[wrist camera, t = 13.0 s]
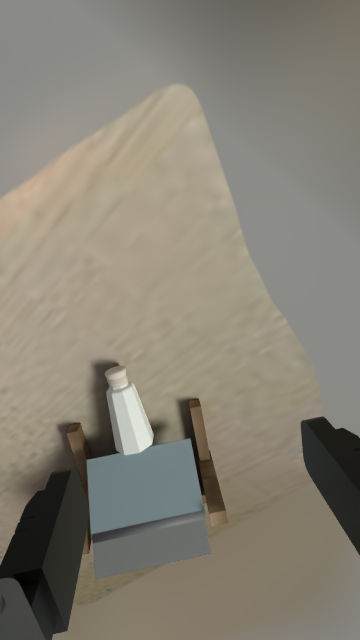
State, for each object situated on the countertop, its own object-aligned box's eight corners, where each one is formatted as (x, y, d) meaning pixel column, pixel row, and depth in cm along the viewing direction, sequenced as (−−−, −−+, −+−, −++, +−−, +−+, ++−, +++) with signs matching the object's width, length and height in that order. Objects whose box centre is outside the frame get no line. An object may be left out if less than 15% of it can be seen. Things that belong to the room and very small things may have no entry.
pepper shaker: (113, 442, 49) (91, 370, 46) (149, 427, 50) (130, 358, 48) (119, 461, 43) (96, 381, 41) (159, 445, 45) (139, 367, 43)
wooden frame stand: (96, 515, 53) (84, 589, 42) (68, 425, 48) (45, 483, 38) (216, 490, 54) (233, 556, 43) (200, 398, 49) (214, 447, 38)
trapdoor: (107, 568, 45) (93, 579, 39) (99, 464, 51) (86, 459, 45) (211, 546, 46) (212, 553, 40) (191, 444, 51) (190, 438, 46)
